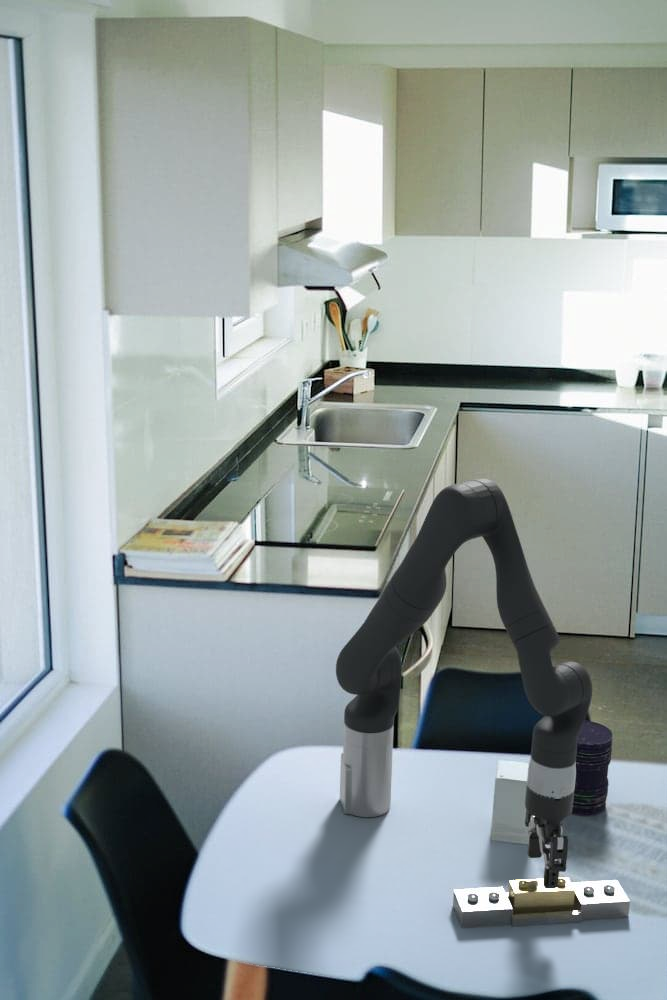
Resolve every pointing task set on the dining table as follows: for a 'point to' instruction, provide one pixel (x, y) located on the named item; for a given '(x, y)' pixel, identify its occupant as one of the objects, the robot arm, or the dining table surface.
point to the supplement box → (510, 803)
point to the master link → (540, 896)
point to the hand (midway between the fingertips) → (542, 871)
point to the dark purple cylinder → (592, 769)
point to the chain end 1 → (490, 909)
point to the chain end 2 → (594, 903)
